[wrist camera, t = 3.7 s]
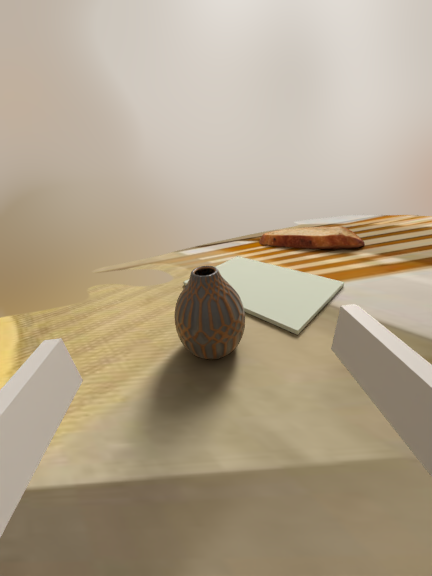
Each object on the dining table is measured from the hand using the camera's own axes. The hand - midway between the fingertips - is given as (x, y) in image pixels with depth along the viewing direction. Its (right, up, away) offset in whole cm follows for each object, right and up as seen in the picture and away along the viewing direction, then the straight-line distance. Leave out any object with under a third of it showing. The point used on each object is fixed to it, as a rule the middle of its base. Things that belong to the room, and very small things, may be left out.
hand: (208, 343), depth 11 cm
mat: (+7, +3, +24) cm, 25 cm away
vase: (0, -4, +13) cm, 14 cm away
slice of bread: (+22, +13, +41) cm, 48 cm away
